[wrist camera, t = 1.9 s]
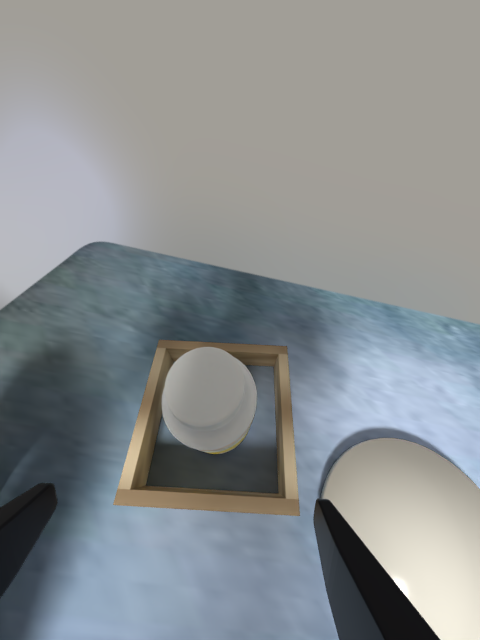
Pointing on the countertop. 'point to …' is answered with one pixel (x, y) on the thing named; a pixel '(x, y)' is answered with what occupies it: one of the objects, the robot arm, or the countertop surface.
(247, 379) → the supplement bottle
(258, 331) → the countertop surface
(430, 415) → the countertop surface
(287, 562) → the countertop surface
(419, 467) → the plate
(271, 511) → the bin frame
